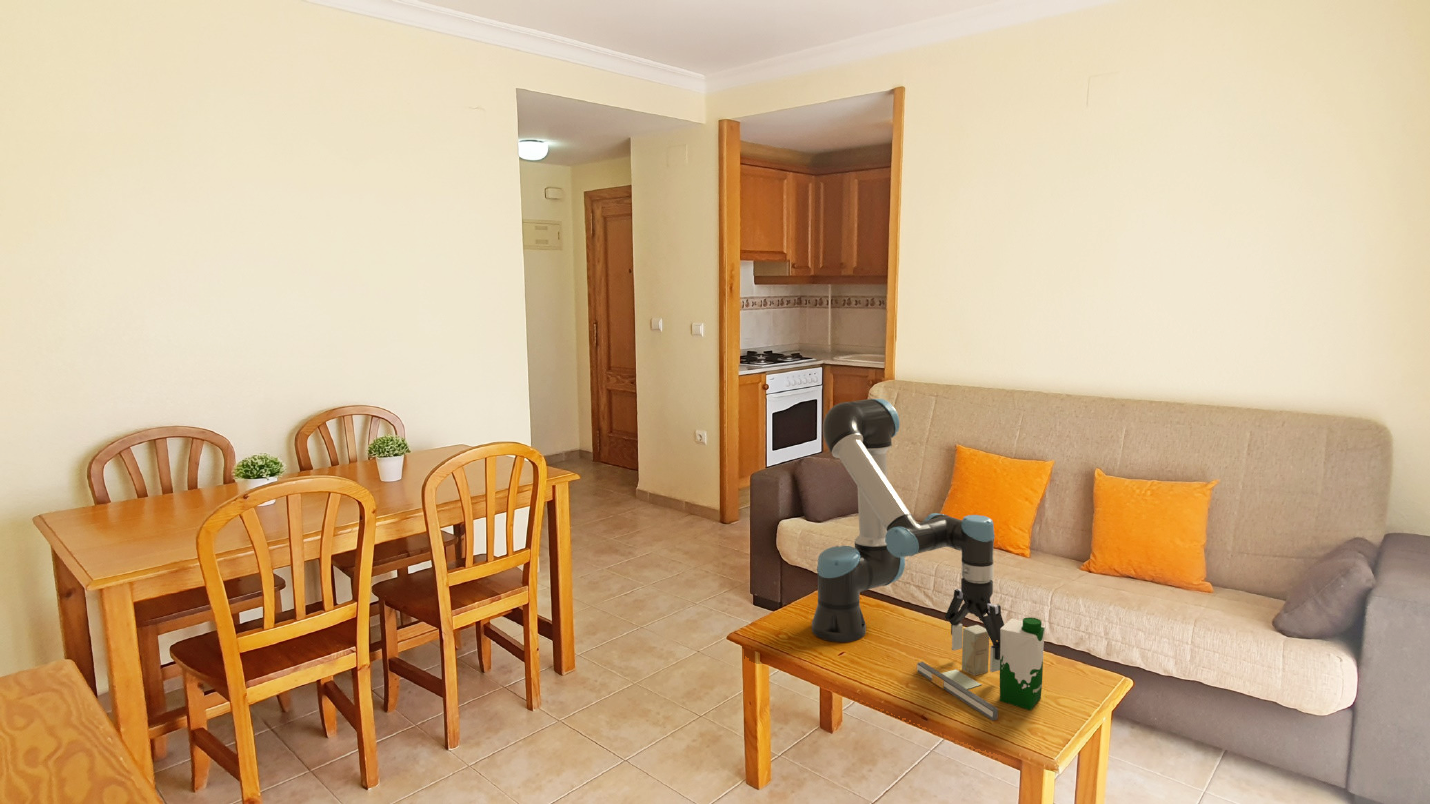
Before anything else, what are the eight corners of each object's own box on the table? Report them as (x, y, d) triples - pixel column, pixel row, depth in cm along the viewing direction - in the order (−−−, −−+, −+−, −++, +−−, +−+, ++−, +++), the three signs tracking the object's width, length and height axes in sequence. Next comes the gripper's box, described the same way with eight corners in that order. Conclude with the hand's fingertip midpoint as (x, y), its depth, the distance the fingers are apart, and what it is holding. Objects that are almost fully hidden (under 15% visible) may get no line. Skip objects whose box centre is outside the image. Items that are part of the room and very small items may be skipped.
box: (973, 676, 203) (974, 634, 201) (961, 669, 207) (961, 628, 205) (989, 671, 205) (990, 629, 204) (976, 664, 209) (977, 623, 207)
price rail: (916, 672, 206) (916, 663, 205) (922, 670, 206) (922, 661, 206) (991, 721, 182) (991, 710, 182) (997, 718, 183) (997, 708, 183)
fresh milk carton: (1033, 713, 185) (1036, 629, 182) (994, 701, 191) (996, 620, 188) (1046, 698, 192) (1049, 617, 189) (1007, 686, 197) (1009, 608, 194)
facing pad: (933, 676, 204) (933, 675, 204) (955, 669, 206) (955, 669, 206) (958, 691, 195) (958, 691, 195) (981, 685, 198) (981, 684, 198)
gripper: (931, 566, 212) (931, 643, 215) (1002, 597, 190) (1000, 683, 193) (954, 561, 215) (953, 637, 218) (1026, 591, 193) (1024, 676, 196)
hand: (975, 659), depth 205 cm, fingers open, 13 cm apart
